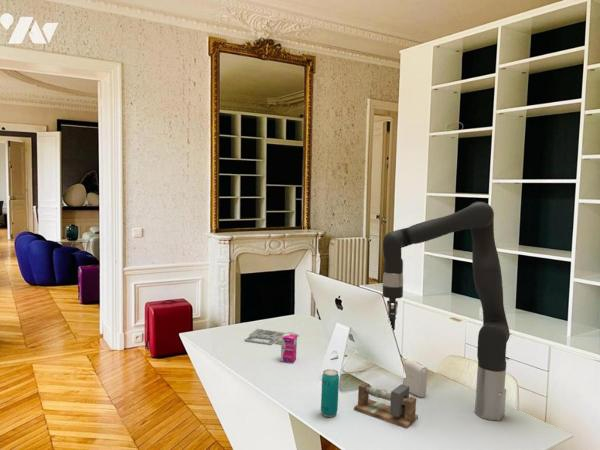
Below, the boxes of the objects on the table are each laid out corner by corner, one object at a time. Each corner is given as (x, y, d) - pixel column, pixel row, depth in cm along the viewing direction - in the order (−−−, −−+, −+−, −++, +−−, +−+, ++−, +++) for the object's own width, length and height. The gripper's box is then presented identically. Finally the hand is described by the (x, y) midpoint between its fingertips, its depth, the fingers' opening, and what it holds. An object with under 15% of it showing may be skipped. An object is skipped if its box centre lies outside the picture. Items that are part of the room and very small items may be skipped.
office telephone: (299, 331, 257) (286, 343, 238) (298, 336, 257) (286, 348, 238) (257, 326, 264) (242, 336, 245) (257, 331, 264) (242, 342, 245)
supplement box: (280, 362, 218) (281, 336, 217) (284, 357, 224) (284, 333, 223) (293, 363, 217) (294, 338, 216) (296, 359, 222) (297, 334, 221)
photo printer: (400, 388, 195) (402, 357, 194) (409, 386, 197) (410, 356, 196) (419, 398, 186) (421, 366, 185) (427, 396, 188) (429, 364, 187)
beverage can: (327, 408, 175) (328, 367, 173) (340, 414, 171) (342, 372, 170) (317, 414, 170) (318, 372, 169) (330, 419, 166) (332, 376, 165)
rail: (418, 418, 170) (419, 395, 169) (406, 428, 162) (408, 404, 162) (366, 401, 182) (367, 380, 181) (354, 410, 174) (355, 388, 174)
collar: (408, 408, 171) (409, 386, 170) (398, 417, 165) (399, 393, 164) (400, 406, 173) (401, 384, 172) (389, 414, 167) (391, 391, 166)
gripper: (403, 288, 178) (402, 332, 179) (402, 281, 192) (401, 322, 193) (382, 287, 179) (381, 331, 181) (382, 280, 193) (381, 321, 195)
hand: (391, 326), depth 187 cm, fingers open, 8 cm apart
